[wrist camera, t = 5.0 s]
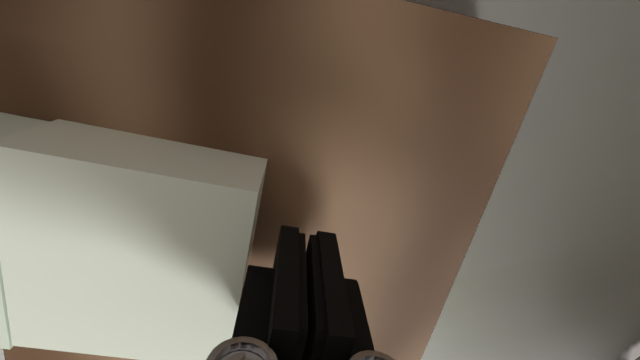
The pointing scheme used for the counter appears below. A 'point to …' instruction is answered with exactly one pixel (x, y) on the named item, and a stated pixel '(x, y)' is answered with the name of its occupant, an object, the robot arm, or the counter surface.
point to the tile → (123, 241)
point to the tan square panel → (303, 120)
